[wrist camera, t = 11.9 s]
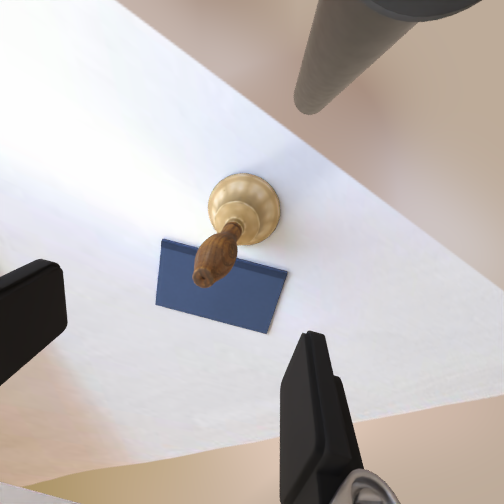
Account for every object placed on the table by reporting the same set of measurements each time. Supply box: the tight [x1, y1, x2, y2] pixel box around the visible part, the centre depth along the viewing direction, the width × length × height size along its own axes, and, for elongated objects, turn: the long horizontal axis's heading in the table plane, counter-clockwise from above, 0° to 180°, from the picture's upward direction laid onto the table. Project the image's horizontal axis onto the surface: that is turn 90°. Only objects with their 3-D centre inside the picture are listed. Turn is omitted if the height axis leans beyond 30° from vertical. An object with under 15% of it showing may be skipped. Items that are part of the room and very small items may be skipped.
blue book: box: [155, 239, 287, 334], centre depth 33 cm, size 10×16×1 cm, turn 76°
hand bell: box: [192, 173, 280, 288], centre depth 21 cm, size 8×8×16 cm
